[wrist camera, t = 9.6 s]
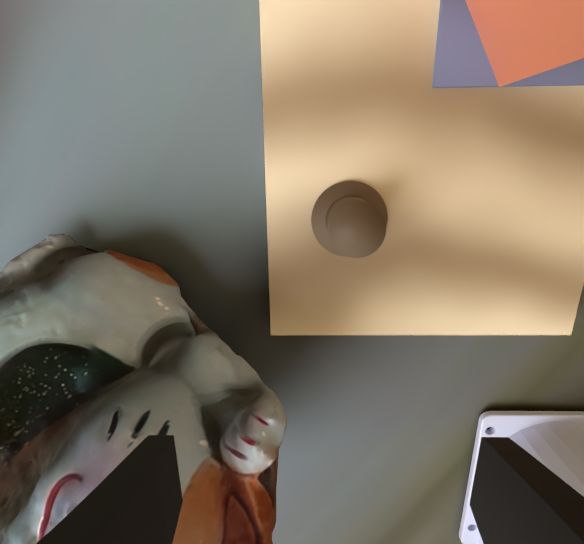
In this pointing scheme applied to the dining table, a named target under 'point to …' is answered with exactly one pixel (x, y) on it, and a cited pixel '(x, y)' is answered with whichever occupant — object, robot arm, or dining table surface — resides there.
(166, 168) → the dining table surface
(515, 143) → the board
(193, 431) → the lucky cat figurine
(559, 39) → the strapped orange box
